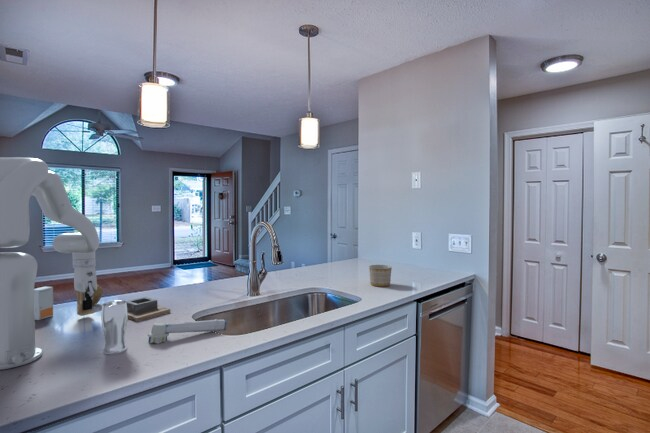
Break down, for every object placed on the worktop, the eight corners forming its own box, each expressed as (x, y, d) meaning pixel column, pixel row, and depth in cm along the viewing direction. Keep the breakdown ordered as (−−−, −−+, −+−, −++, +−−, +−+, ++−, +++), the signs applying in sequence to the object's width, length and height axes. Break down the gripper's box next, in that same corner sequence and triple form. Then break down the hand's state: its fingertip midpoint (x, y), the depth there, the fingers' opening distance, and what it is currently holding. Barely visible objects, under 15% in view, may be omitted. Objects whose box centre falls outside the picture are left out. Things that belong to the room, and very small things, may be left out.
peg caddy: (170, 312, 144) (170, 300, 144) (136, 321, 133) (136, 309, 133) (145, 304, 156) (145, 293, 156) (112, 312, 144) (112, 300, 144)
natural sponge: (78, 310, 147) (77, 287, 147) (78, 305, 155) (77, 283, 154) (103, 306, 153) (103, 284, 152) (102, 301, 160) (101, 280, 160)
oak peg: (92, 313, 138) (92, 288, 138) (81, 316, 135) (81, 290, 134) (88, 311, 140) (88, 287, 140) (77, 314, 137) (76, 289, 137)
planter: (366, 286, 191) (367, 267, 190) (371, 281, 202) (371, 264, 202) (389, 288, 187) (390, 269, 186) (392, 283, 199) (393, 265, 198)
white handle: (227, 321, 123) (150, 323, 111) (225, 339, 123) (147, 344, 110) (224, 317, 128) (149, 318, 115) (221, 335, 127) (146, 338, 115)
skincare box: (39, 320, 134) (38, 290, 134) (30, 319, 135) (29, 289, 135) (54, 315, 140) (53, 286, 140) (45, 315, 141) (44, 286, 141)
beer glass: (123, 344, 112) (122, 298, 111) (132, 349, 107) (131, 302, 107) (98, 351, 107) (97, 303, 106) (107, 357, 102) (105, 307, 102)
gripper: (104, 263, 135) (104, 309, 136) (86, 260, 145) (86, 303, 145) (82, 266, 129) (83, 314, 130) (64, 262, 139) (65, 307, 139)
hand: (84, 308), depth 137 cm, fingers closed on oak peg, 4 cm apart
